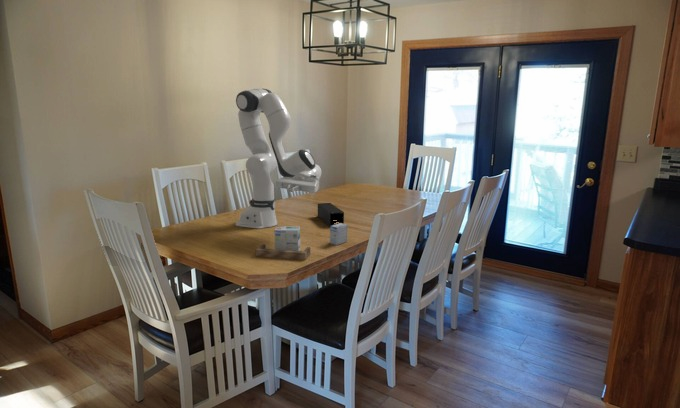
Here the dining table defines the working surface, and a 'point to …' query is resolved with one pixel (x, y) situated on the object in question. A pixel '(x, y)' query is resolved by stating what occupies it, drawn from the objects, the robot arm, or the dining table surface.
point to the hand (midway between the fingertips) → (289, 190)
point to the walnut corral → (282, 253)
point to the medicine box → (338, 233)
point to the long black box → (330, 213)
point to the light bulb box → (287, 238)
